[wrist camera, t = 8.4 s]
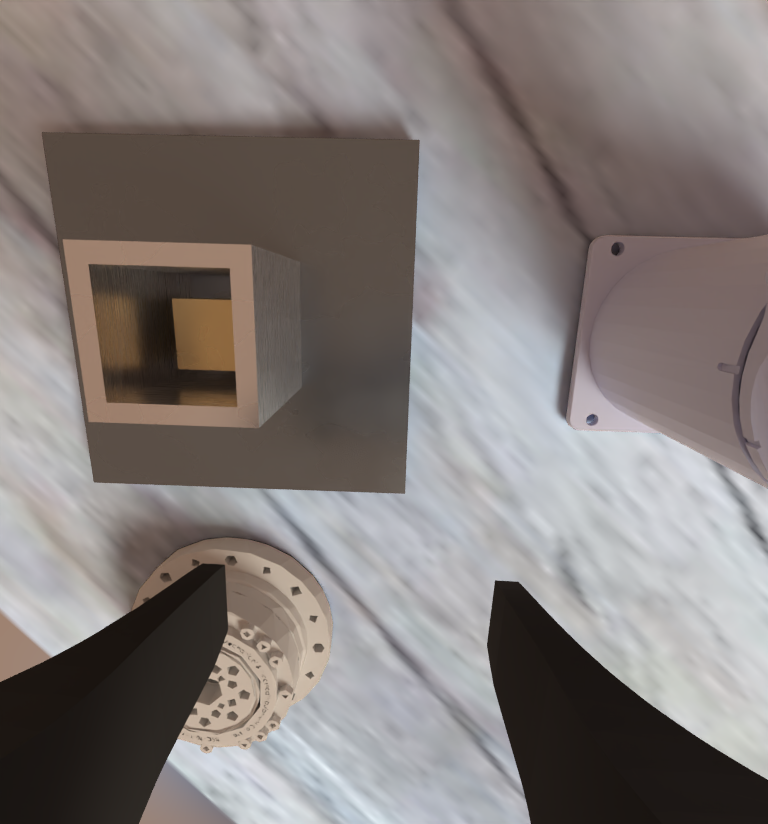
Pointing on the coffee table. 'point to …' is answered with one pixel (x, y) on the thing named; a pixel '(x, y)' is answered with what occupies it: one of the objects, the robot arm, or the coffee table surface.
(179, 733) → the robot arm
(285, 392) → the collar
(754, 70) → the coffee table surface
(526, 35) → the coffee table surface
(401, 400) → the post plate
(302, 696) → the mechanical component
